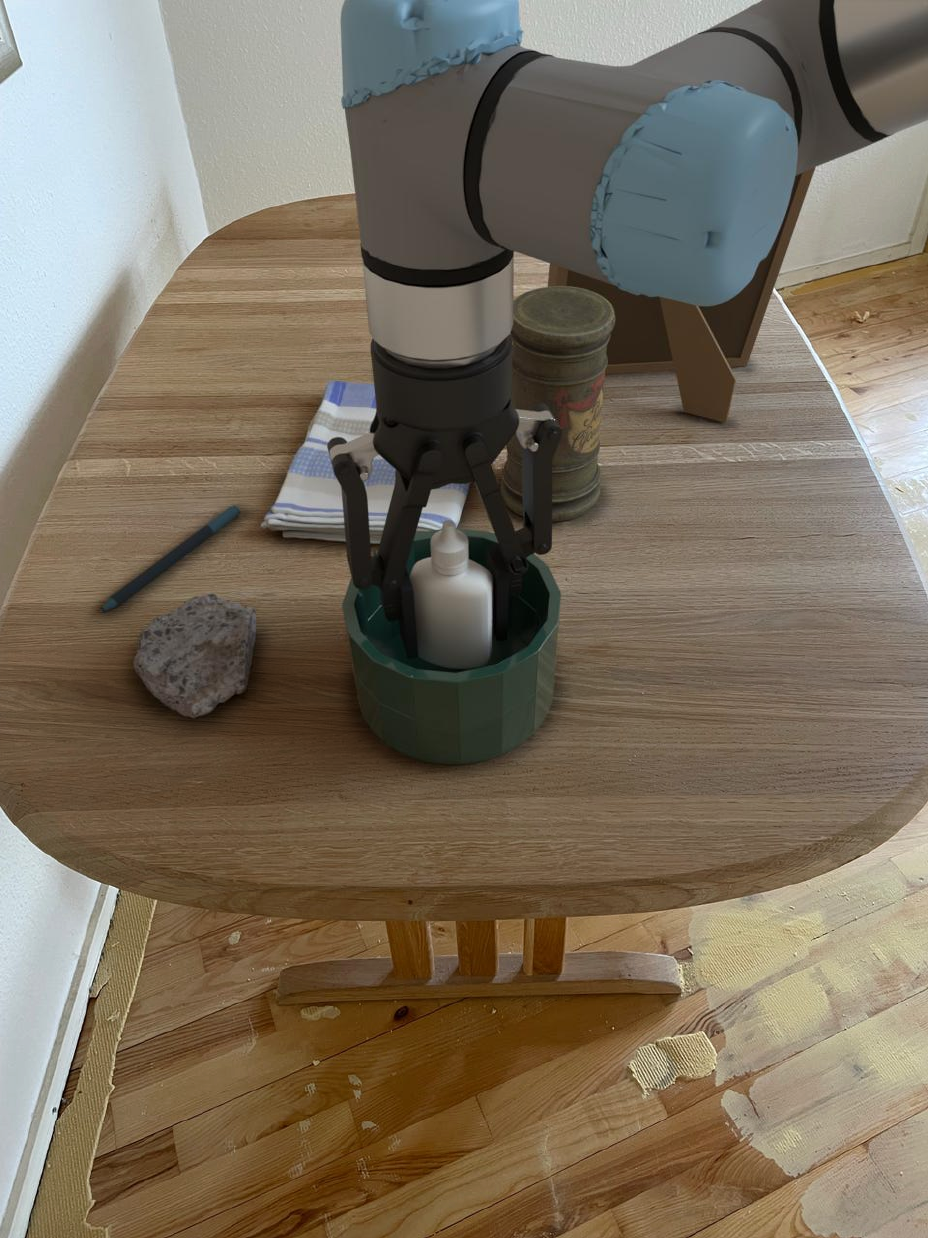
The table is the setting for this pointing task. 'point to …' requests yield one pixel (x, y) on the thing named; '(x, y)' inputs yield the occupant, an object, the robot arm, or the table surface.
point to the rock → (197, 654)
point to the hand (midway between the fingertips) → (453, 635)
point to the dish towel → (315, 490)
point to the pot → (457, 671)
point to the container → (561, 389)
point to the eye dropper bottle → (453, 604)
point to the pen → (170, 558)
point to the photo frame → (692, 326)
